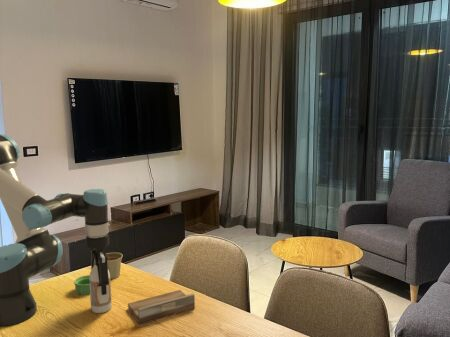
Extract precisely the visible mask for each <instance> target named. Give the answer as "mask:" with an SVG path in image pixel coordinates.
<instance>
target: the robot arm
mask: <svg viewBox="0 0 450 337" xmlns="http://www.w3.org/2000/svg"><path fill="white" fill-rule="evenodd" d="M19 153H20V148H19V145H18V144H17V142H16V140H14V139H13V138H12V137H11V136H9V135H7V134H4V133H3V134H1V133H0V201H1V203H2V206H3V208H4V210H5V213H6V216H7V218H8V219H9V221H10V224H11V226H12V228H13V230H14V232H15V235H16V237H17V238H16V240H15V242H14V243H10V244H8V245H7V244H5V245H3V246H0V327H8V326H13V325H16V324H19V323H22V322H24V321H27V320H29V319H31V318H32V317H33V316H34V315H36V313H37V310H38V309H37V308H38V306H37V301H36V300H35V298H34V295H33V293H32V292H31V290H30V281H29V280H30V278H32V277H35V276H37V275H39V274H41V273H42V272H44V271H46V270H49V269H51V268H53V267H54V266H55V265H57V264H59V262H60V261H61V260H62V256H63V253H64V249H63V248H64V247H63V244H62V242H61V240H60V239H59V237H58V236H56V235H55V234H50V233H49V231H48V228H45V227H48V226H49V225H51V224H55V223H57V222H60V221H63V220H66V219H69V218H72V217H77V218H78V217H79V218H84V228H85V229H84V230H85V232H84V233H85V244H86V248H88V249H90V263H91V264H90V266H91V267H90V268H91V269H90V271H91V270H92V268H93V267H94V265H96V266H97V270H98V277H99V285H97V286H98V287H99V302H100V304H102V303H106V302H108V291H107V285H109V278H108V266H107V256H106V254H107V253H106V251H105V248H107V247H108V246H109V245H110V234H109V230H110V229H109V227H110V226H111V224H110V223H109V215H108V204H109V202H108V196H107V191H106V190H105V189H101V188H92V189H86V190H84V191H83V194H78V193H77V194H75V193H67V192H66V193H59V194H56V196H55V197H54V198H51V199H49V200H47V199H45V198H44V197H42V196H41V195H39V194H38V193H36V192H35V191H34V190H32V189H31V188H29V187H28V186H27V185H25V184H23V182H22V181H21V178H20V176H19V173H18V171H17V167H18V164H19V163H18V159H19V157H20V154H19ZM94 259H95V262H94ZM98 262H99V263H98Z"/></svg>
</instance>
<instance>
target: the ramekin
mask: <svg viewBox="0 0 450 337" xmlns="http://www.w3.org/2000/svg"><path fill="white" fill-rule="evenodd" d="M89 276H90V274H87V275H82V276H79V277H77V278H75V280H74V281H73V283H74V287H75V292H76V293H77V294H78V295H84V296H85V295H86V296H87V295H90V283H89Z"/></svg>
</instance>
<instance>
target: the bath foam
mask: <svg viewBox="0 0 450 337" xmlns="http://www.w3.org/2000/svg"><path fill="white" fill-rule="evenodd" d="M94 262H95V259H94ZM98 263H99V262H98ZM89 275H90V276H89V283H90V294H89V295H90V296H89V297H90V299H89V300H90V311H91V312H93V313H94V314H103V313H106V312H109V311H110V310H111V309H112V287H111V279H110V273H109V270H108V278H109V285H107V291H108V302H106V303H102V304H100V302H99V287H98V286H97V285H99V277H98V270H97V266H96V265H94V267H93V268H92V270H91V269H90V272H89Z"/></svg>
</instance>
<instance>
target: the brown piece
mask: <svg viewBox="0 0 450 337" xmlns="http://www.w3.org/2000/svg"><path fill="white" fill-rule="evenodd" d="M195 297H196V296H195V293H191V294H185V293H184V292H183V291H182V290H181V289H178V290H174V291H171V292H167V293H163V294H159V295H156V296H151V297H148V298H144V299H140V300H137V301H133V302H130V303H127V307H128V308H127V309H128V310H129V312H130V313H131V315H132V316H133V318H135V320H136V322H138V324H139V325H143V324H146V323H149V322H152V321H156V320H159V319H162V318H165V317H170V316H173V315H176V314H177V315H178V314H179V313H183V312H186V311H190V310H193V309H195V307H196V306H195V305H196V303H195V300H196V299H195Z"/></svg>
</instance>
